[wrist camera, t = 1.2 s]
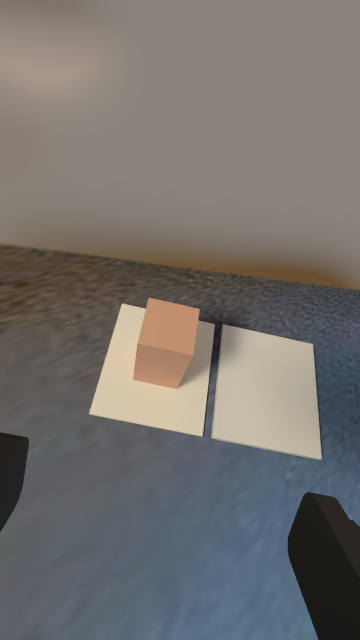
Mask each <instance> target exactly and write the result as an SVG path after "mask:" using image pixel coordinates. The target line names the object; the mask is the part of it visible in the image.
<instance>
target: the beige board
mask: <svg viewBox="0 0 360 640" xmlns="http://www.w3.org/2000/svg"><path fill="white" fill-rule="evenodd" d="M211 439H216V440H221V441H226V442H231V443H236V444H241V445H246V446H251V447H256V448H261V449H266V450H271V451H277V452H282V453H287V454H292V455H297V456H302V457H307V458H312V459H317V460H320V459H322V455H321V442H320V429H319V416H318V403H317V390H316V377H315V364H314V351H313V344H309V343H305V342H300V341H296V340H291V339H287V338H282V337H278V336H273V335H269V334H264V333H260V332H255V331H251V330H246V329H242V328H237V327H233V326H228V325H224V324H223V326H222V332H221V342H220V353H219V363H218V374H217V384H216V395H215V405H214V416H213V426H212V437H211Z"/></svg>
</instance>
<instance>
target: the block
mask: <svg viewBox="0 0 360 640" xmlns="http://www.w3.org/2000/svg"><path fill="white" fill-rule="evenodd" d="M199 310H200V309H197V308H192V307H188V306H183V305H179V304H174V303H170V302H166V301H161V300H157V299H152V298H149V299H148V303H147V307H146V311H145V315H144V319H143V323H142V327H141V331H140V335H139V339H138V343H137V351H136V358H135V366H134V373H133V380H135V381H140V382H145V383H150V384H155V385H160V386H164V387H169V388H174V389H177V387H178V385H179V383H180V381H181V379H182V377H183V375H184V373H185V371H186V369H187V367H188V365H189V363H190V361H191V359H192V357H193V352H194V345H195V338H196V331H197V324H198V317H199Z"/></svg>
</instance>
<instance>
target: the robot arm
mask: <svg viewBox="0 0 360 640" xmlns="http://www.w3.org/2000/svg"><path fill="white" fill-rule="evenodd" d="M28 446H29V439H28V438H27V437H22V436H17V435H12V434H7V433H1V432H0V532H1V530H2V528H3V527H4V525H5V523H6V522H7V520H8V518H9V517H10V515H11V513H12V512H13V510H14V508H15V506H16V504H17V502H18V499H19V497H20V494H21V490H22V486H23V481H24V474H25V467H26V460H27V453H28ZM288 555H289V559H290V562H291V565H292V568H293V570H294V573H295V576H296V579H297V582H298V584H299V587H300V590H301V593H302V595H303V598H304V601H305V604H306V606H307V609H308V612H309V615H310V617H311V620H312V623H313V626H314V628H315V631H316V634H317V637H318V639H319V640H360V527H359V526H358V525H357V524H356V523H355V522H354V521H353V520H350V519H349V518H348V516H347V515H346V513H345V511H344V510H343V508H342V507H341V505H340V503H339V502H338V501H337V499H336V498H334V497H331V496H326V495H321V494H315V493H310V492H307V493H305V494H304V496H303V498H302V500H301V503H300V506H299V508H298V511H297V514H296V516H295V519H294V522H293V524H292V527H291V530H290V533H289V536H288Z"/></svg>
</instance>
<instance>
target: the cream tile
mask: <svg viewBox="0 0 360 640" xmlns="http://www.w3.org/2000/svg"><path fill="white" fill-rule="evenodd" d="M145 311H146V309H144V308H140V307H135V306H131V305H126V304H122V306H121V309H120V313H119V316H118V319H117V323H116V326H115V329H114V333H113V336H112V339H111V343H110V346H109V349H108V353H107V356H106V359H105V363H104V366H103V369H102V373H101V376H100V379H99V383H98V386H97V389H96V393H95V396H94V399H93V403H92V406H91V409H90V413H89V414H90V415H95V416H100V417H105V418H110V419H115V420H120V421H125V422H130V423H135V424H140V425H145V426H150V427H155V428H161V429H166V430H171V431H176V432H181V433H186V434H191V435H196V436H201V437H202V436H203V428H204V419H205V410H206V401H207V392H208V382H209V373H210V364H211V355H212V346H213V337H214V328H215V324H212V323H207V322H203V321H198V324H197V331H196V338H195V345H194V352H193V357H192V359H191V361H190V363H189V365H188V367H187V369H186V371H185V373H184V375H183V377H182V379H181V381H180V383H179V385H178V387H177V389H174V388H169V387H164V386H160V385H155V384H150V383H145V382H140V381H135V380H133V373H134V366H135V358H136V351H137V343H138V339H139V335H140V331H141V327H142V323H143V319H144V315H145Z"/></svg>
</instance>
